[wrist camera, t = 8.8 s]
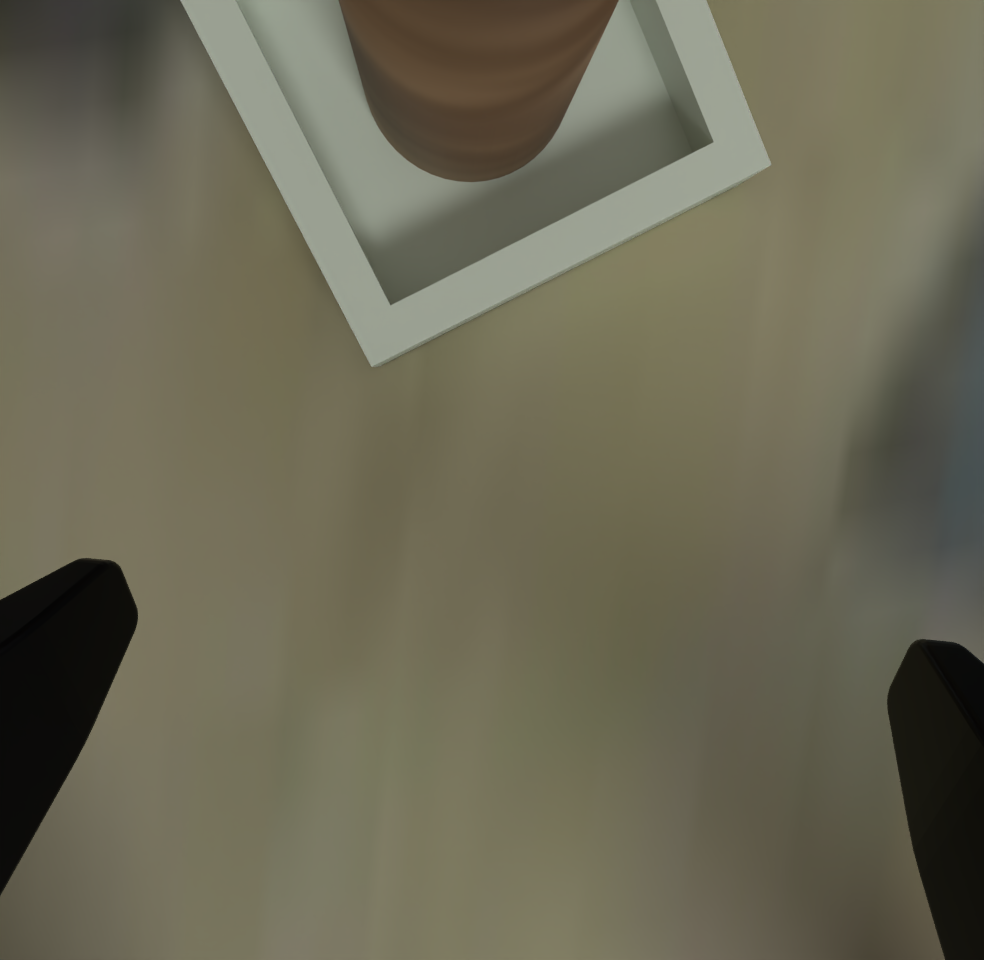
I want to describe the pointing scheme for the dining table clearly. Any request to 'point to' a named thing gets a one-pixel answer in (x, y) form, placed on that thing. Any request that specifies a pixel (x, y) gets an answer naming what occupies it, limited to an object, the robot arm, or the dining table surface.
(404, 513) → the dining table surface
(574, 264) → the keeper dish
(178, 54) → the dining table surface
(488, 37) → the pepper mill
